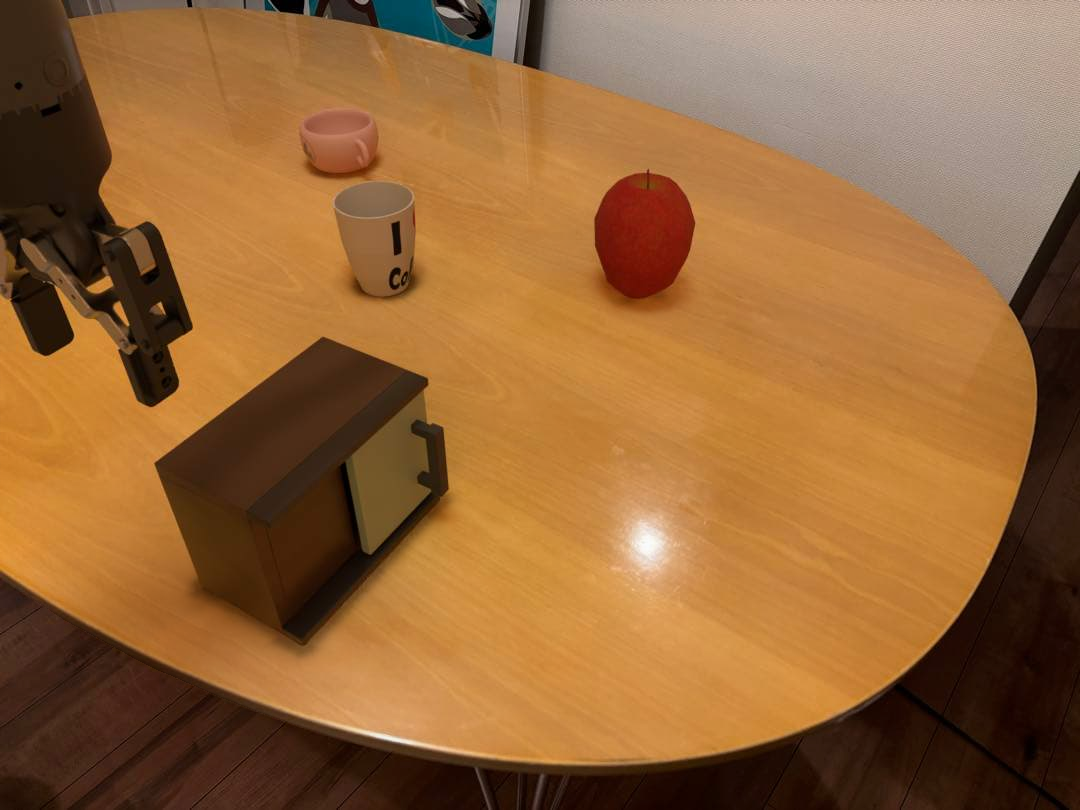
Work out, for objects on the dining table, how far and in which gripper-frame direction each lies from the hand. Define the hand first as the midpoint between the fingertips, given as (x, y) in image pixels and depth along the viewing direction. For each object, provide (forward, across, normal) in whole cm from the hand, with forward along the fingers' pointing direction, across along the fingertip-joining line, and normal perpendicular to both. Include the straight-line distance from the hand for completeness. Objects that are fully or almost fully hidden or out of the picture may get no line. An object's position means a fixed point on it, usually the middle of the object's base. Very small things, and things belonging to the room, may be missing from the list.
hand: (106, 371), depth 49 cm
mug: (+22, -38, +60) cm, 74 cm away
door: (+20, +8, +13) cm, 26 cm away
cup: (+22, -16, +40) cm, 49 cm away
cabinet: (+22, +2, +10) cm, 24 cm away
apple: (+22, +8, +54) cm, 58 cm away
